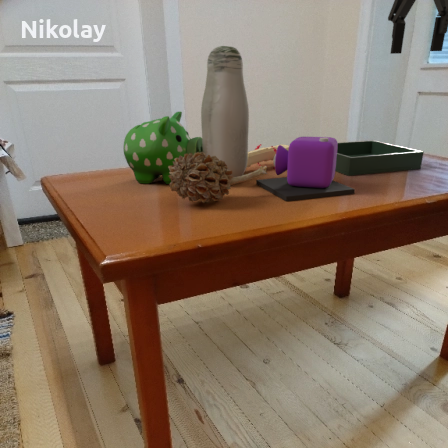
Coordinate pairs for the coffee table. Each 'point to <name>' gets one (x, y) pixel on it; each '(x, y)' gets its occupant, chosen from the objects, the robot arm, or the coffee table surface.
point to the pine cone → (204, 177)
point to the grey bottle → (225, 110)
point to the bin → (375, 158)
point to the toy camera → (308, 161)
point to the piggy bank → (158, 147)
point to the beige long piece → (263, 154)
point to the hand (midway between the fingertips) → (414, 52)
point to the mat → (302, 189)
